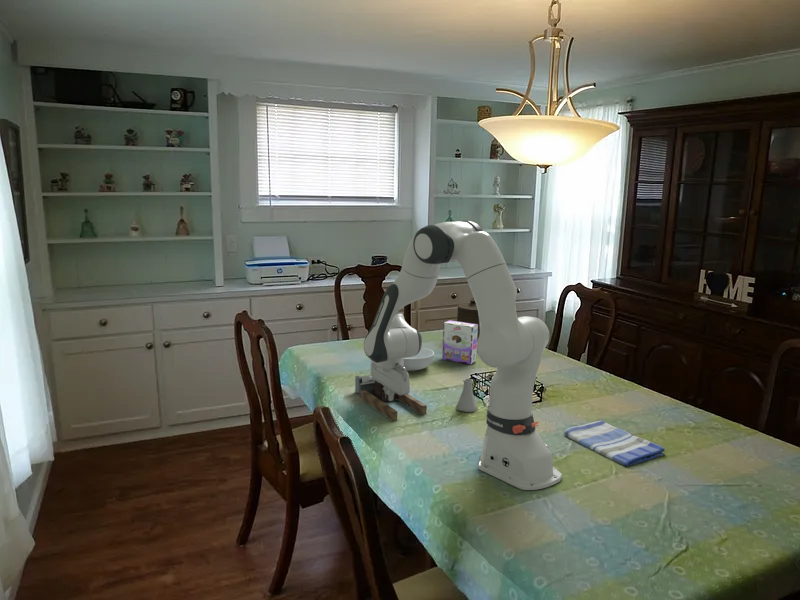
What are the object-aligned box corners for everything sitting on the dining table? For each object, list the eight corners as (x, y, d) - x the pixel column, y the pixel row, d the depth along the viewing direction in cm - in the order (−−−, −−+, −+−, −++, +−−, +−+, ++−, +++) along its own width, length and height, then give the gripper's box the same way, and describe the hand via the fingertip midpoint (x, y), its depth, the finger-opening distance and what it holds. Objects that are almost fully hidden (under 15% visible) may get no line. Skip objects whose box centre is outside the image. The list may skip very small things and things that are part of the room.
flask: (476, 413, 189) (478, 384, 187) (454, 411, 190) (456, 382, 188) (478, 405, 196) (479, 377, 194) (456, 403, 197) (458, 375, 195)
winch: (385, 390, 208) (385, 374, 207) (359, 395, 202) (359, 379, 201) (380, 387, 211) (380, 371, 210) (354, 392, 206) (354, 375, 205)
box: (380, 402, 196) (380, 381, 195) (373, 397, 201) (374, 376, 200) (396, 400, 198) (397, 379, 197) (390, 395, 204) (390, 374, 203)
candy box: (476, 361, 246) (478, 324, 243) (470, 365, 241) (472, 326, 238) (447, 356, 253) (449, 319, 250) (441, 359, 249) (443, 321, 245)
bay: (426, 414, 187) (426, 399, 186) (393, 421, 181) (393, 406, 180) (390, 391, 207) (390, 378, 206) (358, 397, 201) (359, 383, 200)
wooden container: (493, 344, 276) (495, 298, 272) (474, 349, 265) (477, 302, 261) (468, 338, 286) (470, 294, 282) (449, 343, 275) (451, 297, 271)
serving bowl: (444, 370, 233) (444, 354, 232) (401, 379, 221) (401, 361, 220) (414, 357, 250) (414, 342, 249) (372, 365, 238) (373, 348, 237)
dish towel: (601, 426, 183) (602, 417, 182) (667, 456, 163) (668, 447, 162) (560, 436, 174) (561, 427, 174) (625, 469, 154) (626, 459, 154)
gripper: (415, 367, 185) (413, 408, 187) (383, 351, 202) (382, 389, 204) (398, 369, 181) (397, 411, 184) (367, 353, 199) (367, 391, 201)
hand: (389, 399), depth 194 cm, fingers closed
